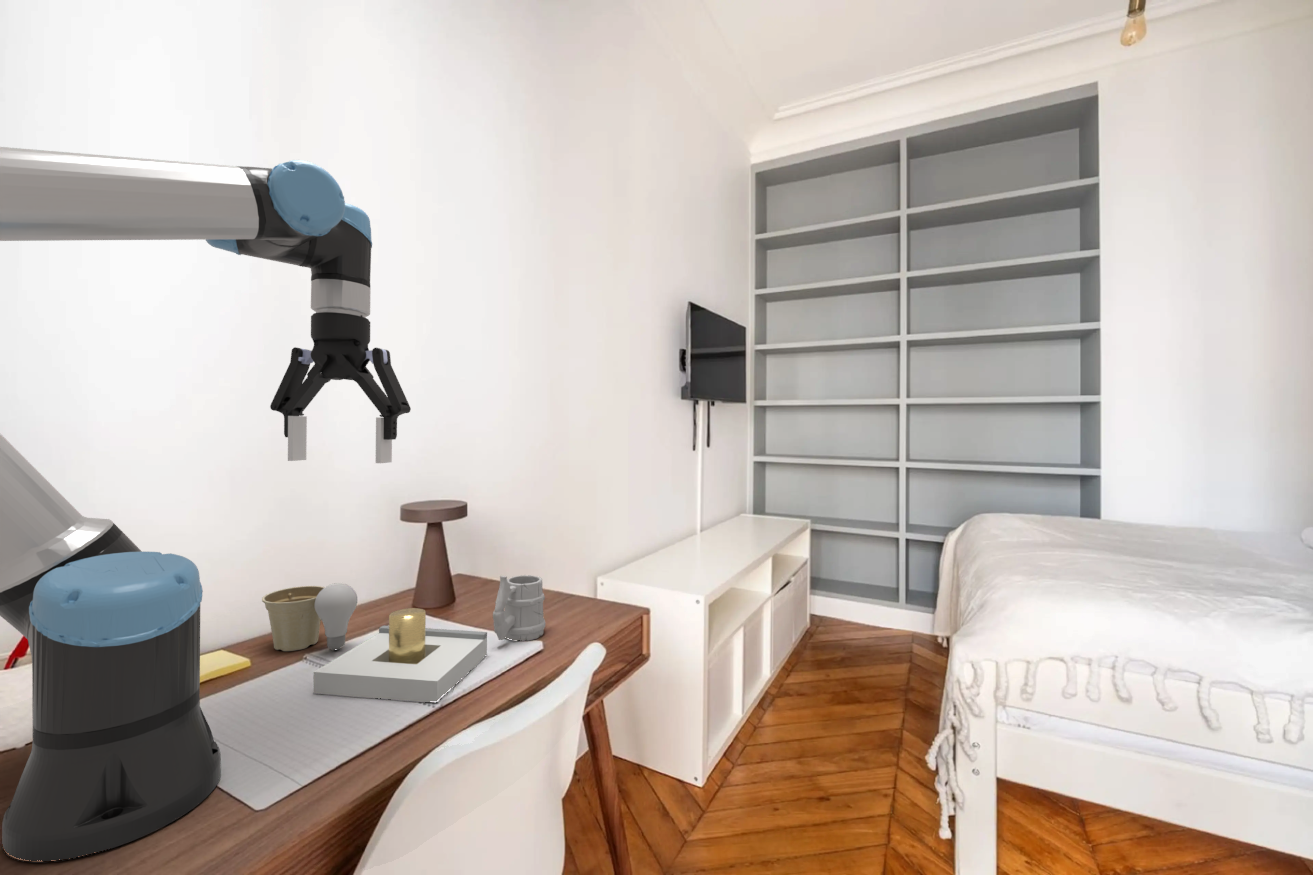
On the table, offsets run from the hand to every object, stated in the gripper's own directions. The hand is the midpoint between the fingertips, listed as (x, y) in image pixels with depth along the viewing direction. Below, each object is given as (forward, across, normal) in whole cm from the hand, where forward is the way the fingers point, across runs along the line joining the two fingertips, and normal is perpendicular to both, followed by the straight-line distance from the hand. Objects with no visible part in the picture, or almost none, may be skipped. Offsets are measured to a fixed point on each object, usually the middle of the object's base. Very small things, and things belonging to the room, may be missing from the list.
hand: (340, 461), depth 81 cm
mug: (+32, -20, -19) cm, 42 cm away
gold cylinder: (+32, -9, -3) cm, 33 cm away
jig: (+32, -9, -3) cm, 33 cm away
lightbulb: (+32, +7, -9) cm, 34 cm away
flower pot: (+32, +15, -10) cm, 37 cm away
